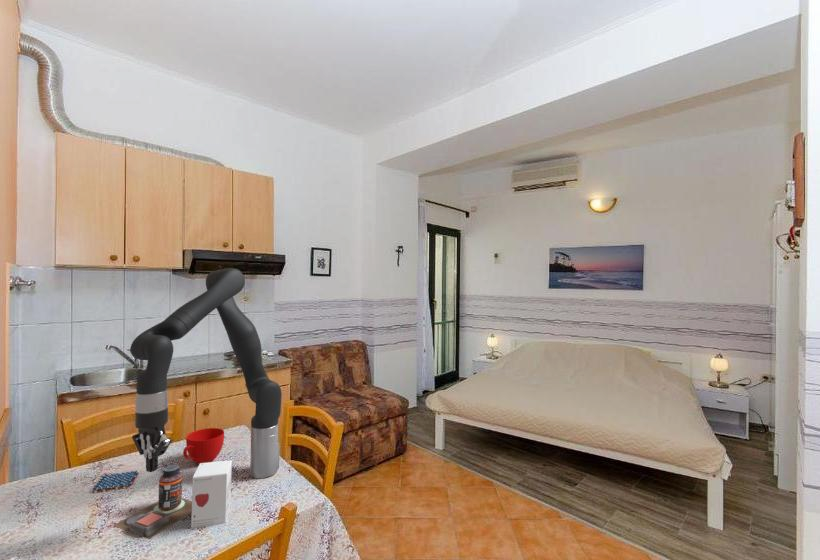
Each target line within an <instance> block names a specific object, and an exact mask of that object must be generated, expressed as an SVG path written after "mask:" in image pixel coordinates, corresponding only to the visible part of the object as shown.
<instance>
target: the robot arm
mask: <svg viewBox="0 0 820 560" xmlns="http://www.w3.org/2000/svg"><path fill="white" fill-rule="evenodd" d="M245 284H246V280H245V276H244V274H243V272H242V271H241V270H240V269H238V268H235V267H234V268H233V267H231V268H230V267H228V268H222V269H217V270H213V271H211V272H209V273H208V274H207V275H206V278H205V287H206V290H205V291H204V292H203V293H202V294H199V295H198V296H197V297H194V298H193V299H191V300H188V302H186V303H185V304H183V305H181V306H179V307H178V308H177V309H176V310H175V311H173V312H172V313H171V314H170V315H169V316H167V317H166V318H165V319H164V320H163V321H161V322H159V323H156V324H155V325H153V326H151V327H150V328H148V329H146V330H144V331H143V332H141V333H140V334H138V335H137V336H136V337H135V338H134V339H133V341H132V343H130V344H131V345H130V347H129V349H130V352H129V353H130V354H131V356H133V358H135V359H137V360H140V361H147V364H146V368H145V369H143V370H140V371H139V372H138V373H137V375H136V390H135V391H136V396H135V403H134V405H135V406H134V408H135V409H134V413H135V414H134V418H135V419H134V425H135V428H136V429H138V430H137V433H135V434H132V436H131V438H132V441H133V443H134V445H135V447H136V449H137V451H138V453H139V455H140V456H143V457H144V459H145V471H146V472H148V473H153V472H154V471H157V470H158V467H159V457H160V456H163V455H164V454H165V453H166V451H167V449H168V448H169V447H170V445H171V443H172V442H173V439H172V437H167V435H166V429H165V426H166V424H167V423H168V422H169V421H168V420H169V394H168V372H169V370H170V366H171V363H172V360H173V359H172V358H173V354H174V344H173V342H172V341H177V340H180V339H182V338H183V337H185V336H186V335H187V334H188V333H189V332H190V331H192V330H193V329H194V328H195V327H196V326H197V325H198V324H199V323H200V322H201V321H202V320H204V319H205V318H206V317H207V316H208V315H210V314H211V313H212V312H213V311H214V310H217V312H218V315H219V317H220V319H221V322H222V325H223V326H224V329H225V331H226V334H227V336H228V340H229V343H230V345H231V348H232V351H233V353H234V355H235V358H236V360H237V362H238V365H239V367H240V370H241V371H242V374H243V379H244V382H245V386H246V390H247V393H248V396H249V398H250V400H251V402H253V403H254V404H255V411H254V413H255V414H254V415H253V416H252V417H251V420H250V463H249V470H250V471H249V475H250V477H252V478H255V479H266V478H269V477H272V476H274V475H275V474H276V473H277V472H278V470H279V469H280V442H279V419H280V417H281V412H282V411H281V410H282V388H281V386H280V384H279V383H277V382H276V381H273V380H271V379H270V378H269V376H268V374H267V372H266V370H265V367H264V364H263V361H262V343H261V339H260V337H259V334H258V331H257V329H256V326H255V324H253V322H252V320H250V319H249V317H248V316H246V314H244V313H243V312H242V310H241V309H240V308H239V306H238V305H237V303H236V301H235V298H234V296H236V295H238V294H240V292H242V290H243V289H244V288H245Z"/></svg>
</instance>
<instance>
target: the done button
mask: <svg viewBox="0 0 820 560" xmlns="http://www.w3.org/2000/svg"><path fill="white" fill-rule="evenodd" d="M161 518H163V516H160V515H157V514H154V513H151V514H149V515H147V516H146V517H144V518H142V519H140V520H138V521H137V522H136V523H138V524H140V525H143V526H146V527H148V526H149V525H151V524H153V523H155V522H156V521H158V520H160V519H161Z"/></svg>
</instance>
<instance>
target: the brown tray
mask: <svg viewBox="0 0 820 560" xmlns="http://www.w3.org/2000/svg"><path fill="white" fill-rule="evenodd" d="M151 513H154V514H157V515H160V516H163V518H161V519H160V520H158V521H156V522H155V523H153V524H151V525H149V526H148V527H146V526H143V525H140V524H138V523H136V522H137V521H138V520H140V519H142V518H144V517H146V516H147V515H149V514H151ZM191 514H192V500H189V499H186V498H183V497H182V499H181V504H180V505H179V506H177V507H176V508H174V509H171V510H161V509H159V507H158V501H156V502H154V503H152V504H151V505H149V506H147V507H145V508H143V509H141V510H139V511H138V512H136V513H134V514H132V515H129V516H128V517H126V518H125V519H123V520H121V521H119V522H117V523H114V524H113V525H112V526H113V527H115V528H117V529H121V530H124V531H125V532H129V533H132V534H134V535H137V536H140V537H142V538H145V539H148V540H150V539H152V537H154V536H157V535H158V534H160V533H161V532H163V531H164V530H166V529H168V528H169V527H171V526H173V524H176V523H177V522H179V521H180V520H182V519H183V518H185V517H187V516H189V515H191Z"/></svg>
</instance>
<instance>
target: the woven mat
mask: <svg viewBox="0 0 820 560" xmlns="http://www.w3.org/2000/svg"><path fill="white" fill-rule="evenodd" d="M138 475H139V472H138V470H134V471H133V470H132V471H129V472H128V471H126V472H121V473H119V472H117V473H114V474H112V473H111V474H106V475H103V476H101V478H100V479H99V480H98V481H97V483H96V485H94V487H93V488H92V493H93V494H96V493H98V492H99V493H102V492H103V493H104V492H106V491H107V492H109V491H111V492H113V491H118V490H122V488H123V490H124V489H126V488H127V489H129V488H131V487H132V485H133V484H134V482H135V479H136V478H138V477H137V476H138Z"/></svg>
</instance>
